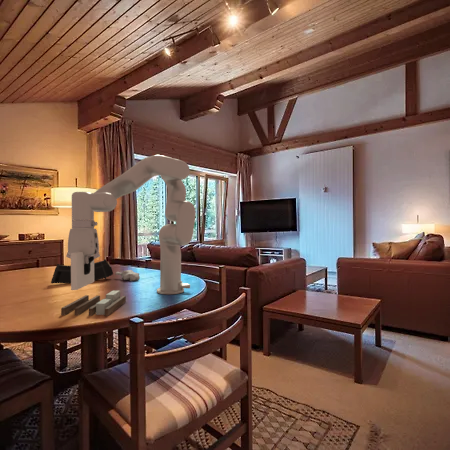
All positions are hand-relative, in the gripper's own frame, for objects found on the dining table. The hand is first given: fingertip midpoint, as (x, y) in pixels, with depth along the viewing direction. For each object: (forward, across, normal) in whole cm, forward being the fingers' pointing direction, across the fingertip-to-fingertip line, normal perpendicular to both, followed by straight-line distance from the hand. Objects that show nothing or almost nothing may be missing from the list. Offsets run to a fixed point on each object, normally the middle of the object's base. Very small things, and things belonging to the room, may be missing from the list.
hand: (83, 273), depth 113 cm
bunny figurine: (+14, +1, -55) cm, 57 cm away
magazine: (+13, +23, -47) cm, 54 cm away
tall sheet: (+5, 0, 0) cm, 5 cm away
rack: (+13, -5, 0) cm, 14 cm away
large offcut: (+13, -10, -4) cm, 17 cm away
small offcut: (+13, -10, +5) cm, 17 cm away
